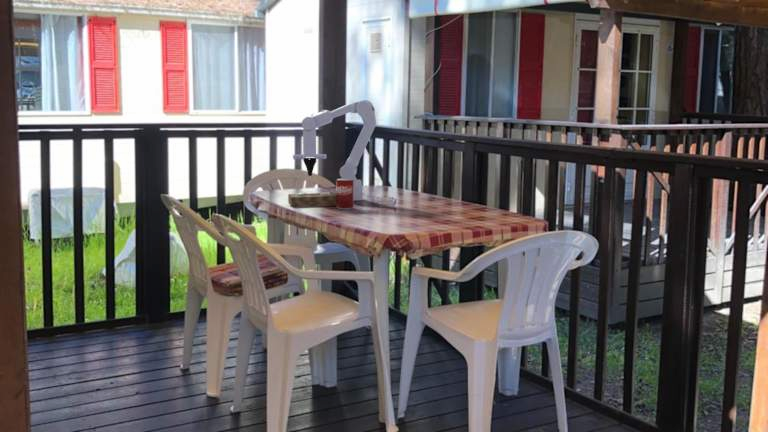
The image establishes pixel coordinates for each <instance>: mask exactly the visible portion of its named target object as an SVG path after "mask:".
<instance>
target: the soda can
mask: <svg viewBox="0 0 768 432" xmlns="http://www.w3.org/2000/svg"><path fill="white" fill-rule="evenodd" d="M335 193H336V206H335V207H336V209H338V210H352V209H354V207H355V201H354V180H353V179H350V178H342V177H341V178H337V179H336V180H335Z"/></svg>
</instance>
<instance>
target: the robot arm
mask: <svg viewBox="0 0 768 432" xmlns="http://www.w3.org/2000/svg"><path fill="white" fill-rule="evenodd" d="M348 113H352V114H358V115H359V116H360V118H361V120H362V122H363V126H362V129H361V131H360V133H359V135H358V137H357V140H356V142H355V144H354V145H353V147H352V150H351V152H350V154H349V157H348V158H347V159H346V161H345V164H344V165H343V166H341V167H340V169H339V176H340V177H341V178H350V179H353V180H354V202H355V201H363V182H362V179H357V177H356V175H357V172H358V165H359V164H360V159H361V157H362V156H363V154H364V152H365V149H366V148H367V145H368V142H369V141H370V139H371V136H372V135H373V132H374V131H375V128H376V125H377V119H376V110H375V107H374V105H373V103H372V102H371V101H370V100H367V99H364V100H360V101H355V102H350V103H348V104H345V105H343V106H341V107H338V108H336V109H333V110H328V109H322V110H320V112H318V113H315V114H314V113H312V114H310V116H305V117H304V118H303V120H302V121H301V127H302V151H303V152H302V154H301V153H300V154H292V160H303V163H304V165H305V169H306V171H307V176H309V177H311V176H313V170H314V167H315V165H316V163H317V160H326V159H327V157H328V156H327V154H325V153H323V154H322V153H317V128H321V127H323V126H325V125H328V124H331V123H332V122H333V119H334V118H337V117H340V116H343V115H347V114H348Z"/></svg>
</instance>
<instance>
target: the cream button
mask: <svg viewBox="0 0 768 432" xmlns="http://www.w3.org/2000/svg"><path fill="white" fill-rule="evenodd" d="M319 193H320V194H319V195H320V196H326V195H331V194H330V193H331V192H329V191H320V192H319Z"/></svg>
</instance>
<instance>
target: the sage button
mask: <svg viewBox="0 0 768 432" xmlns="http://www.w3.org/2000/svg"><path fill="white" fill-rule="evenodd" d="M296 194H297V195H296V196H307V194H308V192H296Z"/></svg>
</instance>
